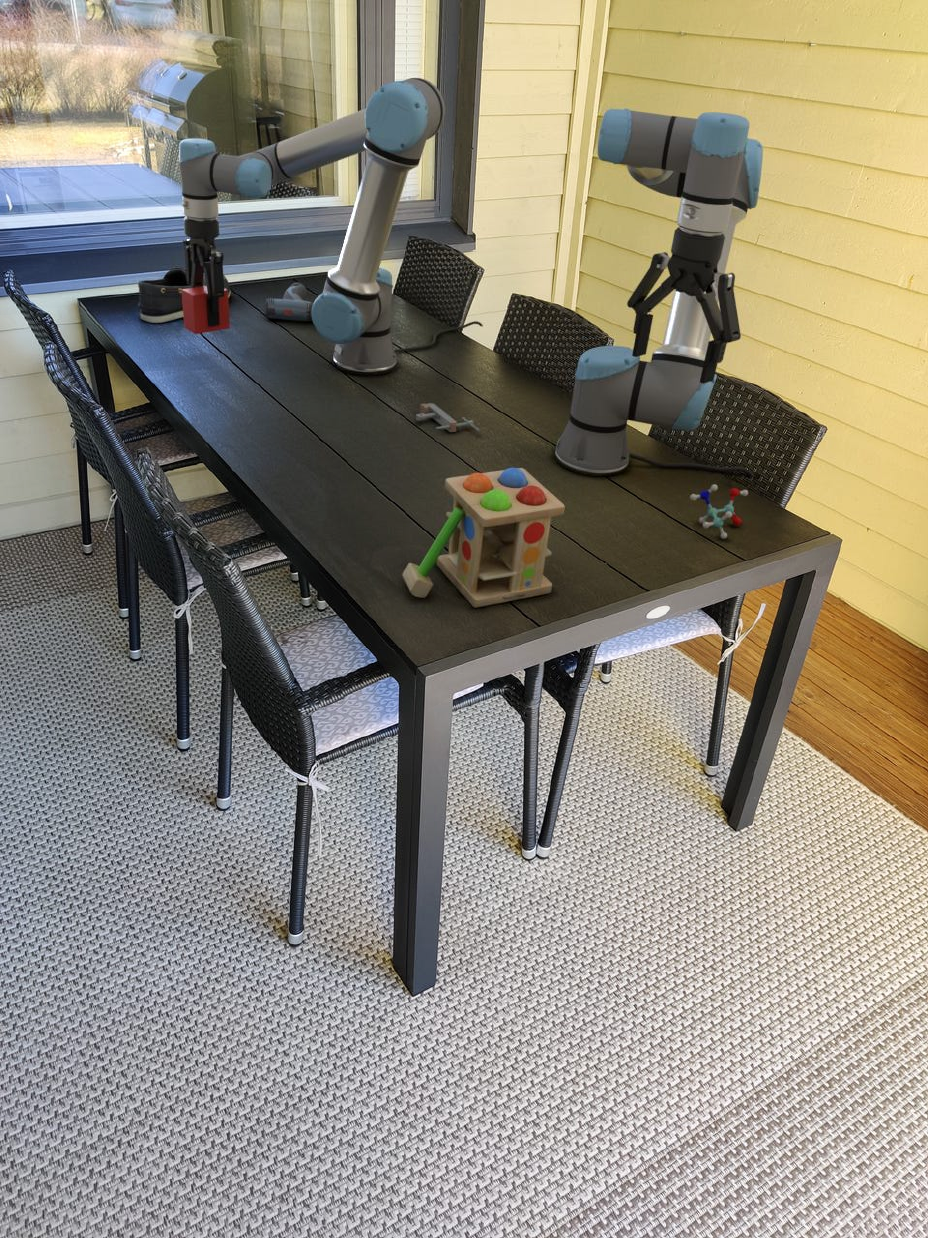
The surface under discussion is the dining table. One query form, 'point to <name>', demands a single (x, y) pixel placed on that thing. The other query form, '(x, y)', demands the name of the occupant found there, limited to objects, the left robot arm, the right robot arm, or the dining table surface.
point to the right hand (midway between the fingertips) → (671, 368)
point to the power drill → (290, 305)
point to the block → (202, 310)
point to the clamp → (442, 418)
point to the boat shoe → (165, 296)
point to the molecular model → (713, 512)
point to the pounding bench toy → (492, 538)
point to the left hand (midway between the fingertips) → (207, 321)
